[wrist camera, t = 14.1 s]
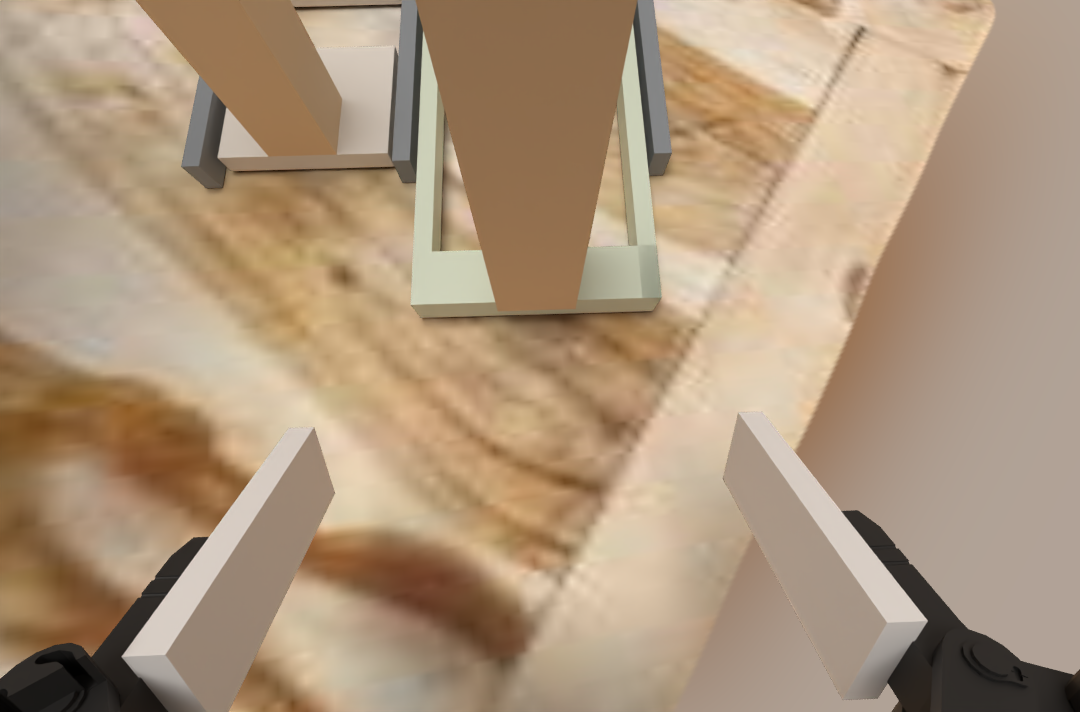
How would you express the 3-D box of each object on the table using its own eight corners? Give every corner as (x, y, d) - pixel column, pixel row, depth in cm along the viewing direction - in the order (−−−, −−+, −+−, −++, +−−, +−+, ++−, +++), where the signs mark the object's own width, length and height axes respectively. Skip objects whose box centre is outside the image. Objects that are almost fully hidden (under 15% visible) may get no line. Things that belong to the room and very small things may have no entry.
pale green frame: (653, 319, 25) (895, -21, 8) (420, 326, 25) (156, -2, 8) (622, 8, 31) (724, -581, 14) (432, 13, 31) (294, -573, 14)
